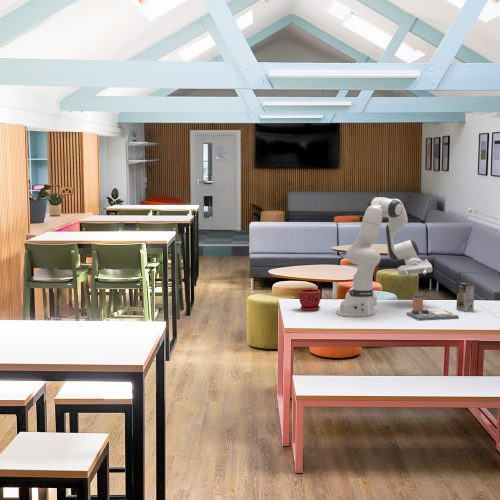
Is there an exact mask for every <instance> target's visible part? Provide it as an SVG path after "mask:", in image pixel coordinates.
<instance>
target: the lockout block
mask: <svg viewBox="0 0 500 500" xmlns="http://www.w3.org/2000/svg"><path fill="white" fill-rule="evenodd" d="M411 296H412V310H417V311H419V312H422V310H424V297H425V296H424V295H423V294H421V293H420V294H419V293H417V294H412V295H411Z"/></svg>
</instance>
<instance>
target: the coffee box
mask: <svg viewBox="0 0 500 500" xmlns="http://www.w3.org/2000/svg"><path fill="white" fill-rule="evenodd" d="M474 302H475V284H474V283H470V282H466V281H465V282H463V281H462V282H459V281H458V282H457V283H456V310H458V311H462V312H464V313H465V312H474Z"/></svg>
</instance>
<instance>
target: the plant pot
mask: <svg viewBox="0 0 500 500" xmlns="http://www.w3.org/2000/svg"><path fill="white" fill-rule="evenodd" d="M321 297H322V296H321V290H320V289H317V288H312V289H311V288H307V289H300V290H298V298H299V302H300V309H301V310H302V311H305V312H316V311H319V309H320V308H321V306H320V302H321Z"/></svg>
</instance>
